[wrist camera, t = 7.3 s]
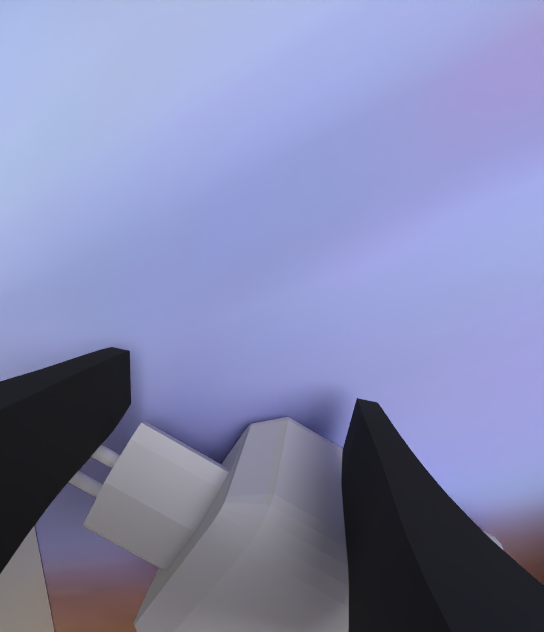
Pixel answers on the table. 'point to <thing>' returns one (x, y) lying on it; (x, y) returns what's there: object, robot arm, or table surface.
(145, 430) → the charger
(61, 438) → the robot arm
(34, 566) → the box
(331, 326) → the table surface
